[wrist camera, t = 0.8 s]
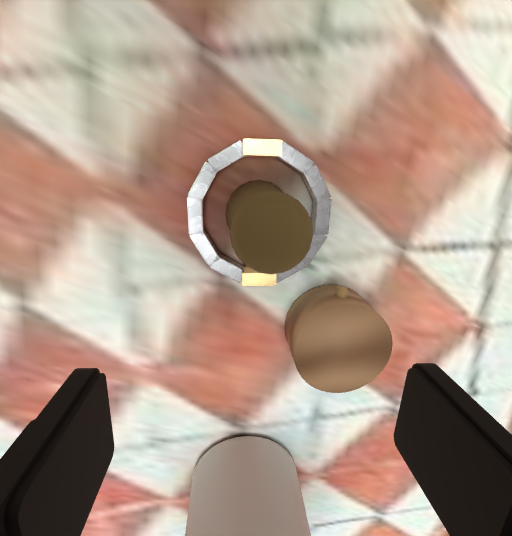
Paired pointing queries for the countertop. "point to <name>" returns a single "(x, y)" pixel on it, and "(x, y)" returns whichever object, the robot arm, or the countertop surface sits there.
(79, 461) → the robot arm
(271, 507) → the cylinder vase
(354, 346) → the pot
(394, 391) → the countertop surface
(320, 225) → the collar
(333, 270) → the countertop surface
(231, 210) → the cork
